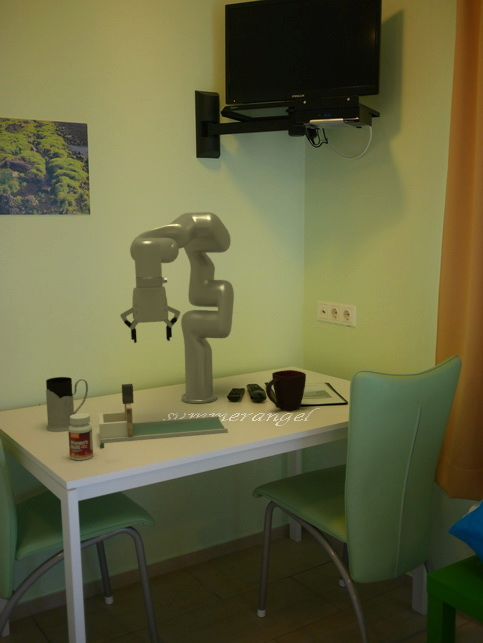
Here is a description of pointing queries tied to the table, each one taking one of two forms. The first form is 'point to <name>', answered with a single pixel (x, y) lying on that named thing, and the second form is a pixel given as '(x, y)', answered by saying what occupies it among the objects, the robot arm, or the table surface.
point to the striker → (128, 405)
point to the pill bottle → (80, 437)
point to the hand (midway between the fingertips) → (151, 341)
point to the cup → (287, 389)
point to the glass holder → (61, 403)
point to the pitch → (155, 428)
